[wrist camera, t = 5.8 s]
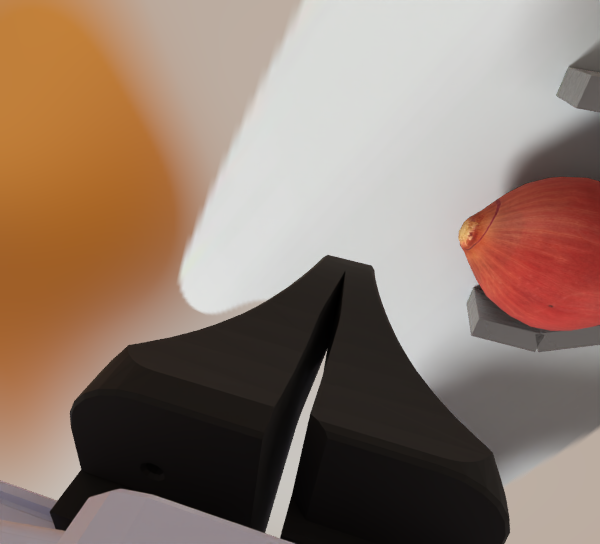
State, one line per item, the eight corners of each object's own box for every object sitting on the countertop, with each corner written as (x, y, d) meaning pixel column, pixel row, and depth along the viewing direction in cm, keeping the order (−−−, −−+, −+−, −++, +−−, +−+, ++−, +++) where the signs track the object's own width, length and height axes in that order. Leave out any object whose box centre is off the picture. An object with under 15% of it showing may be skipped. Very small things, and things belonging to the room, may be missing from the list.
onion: (481, 137, 18) (686, 185, 17) (434, 254, 21) (604, 300, 20) (503, 185, 13) (793, 256, 12) (437, 328, 16) (662, 393, 15)
